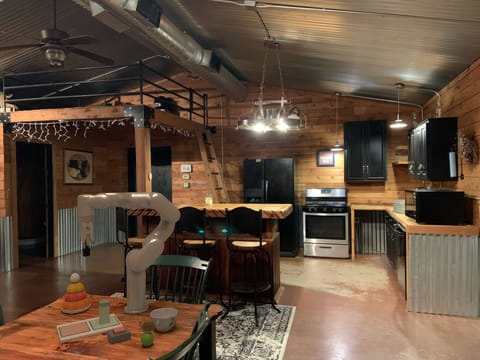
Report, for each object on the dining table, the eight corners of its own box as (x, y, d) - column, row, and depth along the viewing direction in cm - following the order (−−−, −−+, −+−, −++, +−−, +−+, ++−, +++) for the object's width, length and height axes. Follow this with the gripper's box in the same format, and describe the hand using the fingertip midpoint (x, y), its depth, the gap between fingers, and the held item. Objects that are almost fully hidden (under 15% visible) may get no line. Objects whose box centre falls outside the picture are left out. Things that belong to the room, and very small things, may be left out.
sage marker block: (107, 319, 170) (107, 299, 170) (109, 322, 167) (109, 301, 167) (99, 321, 168) (98, 300, 168) (100, 324, 165) (100, 303, 165)
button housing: (125, 332, 159) (125, 325, 159) (130, 339, 153) (130, 332, 153) (107, 336, 155) (107, 330, 155) (111, 344, 148) (111, 337, 148)
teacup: (157, 322, 170) (156, 306, 170) (181, 324, 168) (181, 307, 168) (143, 336, 155) (143, 318, 155) (170, 338, 153) (170, 320, 153)
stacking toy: (95, 309, 187) (95, 272, 187) (68, 317, 177) (68, 278, 176) (83, 303, 197) (82, 268, 196) (56, 310, 186) (56, 273, 186)
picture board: (113, 315, 179) (113, 313, 179) (123, 328, 164) (123, 325, 164) (56, 327, 165) (56, 325, 165) (60, 343, 150) (60, 340, 150)
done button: (122, 332, 157) (122, 326, 157) (125, 336, 153) (125, 329, 153) (112, 335, 154) (112, 328, 154) (114, 339, 151) (114, 332, 151)
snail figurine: (139, 342, 150) (139, 314, 149) (155, 342, 150) (155, 313, 150) (137, 348, 144) (136, 319, 144) (153, 348, 145) (152, 319, 145)
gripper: (97, 220, 171) (97, 258, 171) (91, 217, 183) (91, 252, 184) (80, 221, 167) (80, 260, 167) (75, 218, 179) (76, 254, 180)
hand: (86, 256), depth 175 cm, fingers closed
